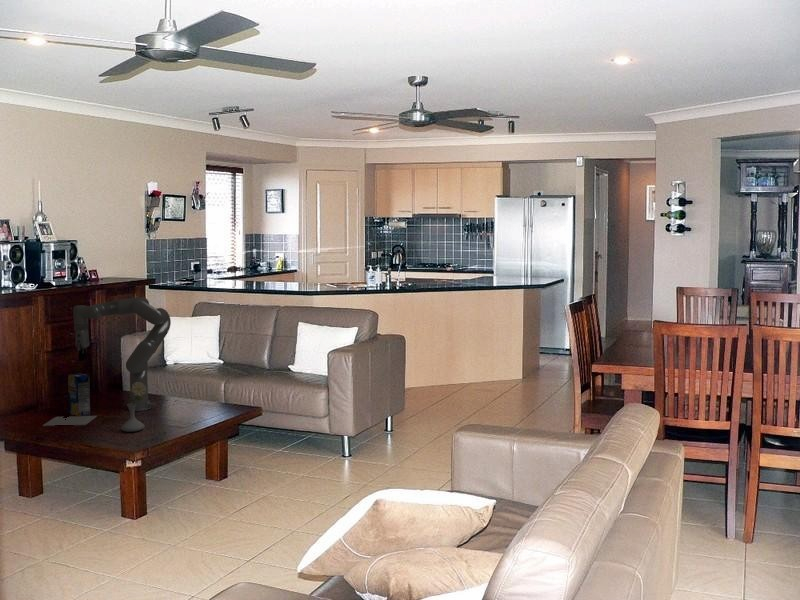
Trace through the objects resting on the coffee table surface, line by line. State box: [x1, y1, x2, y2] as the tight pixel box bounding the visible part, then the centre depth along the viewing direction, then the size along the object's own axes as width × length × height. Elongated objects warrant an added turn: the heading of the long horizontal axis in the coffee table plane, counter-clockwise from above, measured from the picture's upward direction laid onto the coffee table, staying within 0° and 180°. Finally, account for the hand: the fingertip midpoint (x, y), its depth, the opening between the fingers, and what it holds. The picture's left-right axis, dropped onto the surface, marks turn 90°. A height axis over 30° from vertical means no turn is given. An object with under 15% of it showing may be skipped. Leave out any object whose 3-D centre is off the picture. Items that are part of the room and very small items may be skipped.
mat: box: [42, 415, 98, 427], centre depth 449 cm, size 22×20×1 cm
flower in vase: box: [120, 382, 146, 433], centre depth 426 cm, size 13×11×25 cm
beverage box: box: [67, 373, 91, 417], centre depth 463 cm, size 7×11×22 cm, turn 48°
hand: (82, 359), depth 471 cm, fingers open, 3 cm apart
